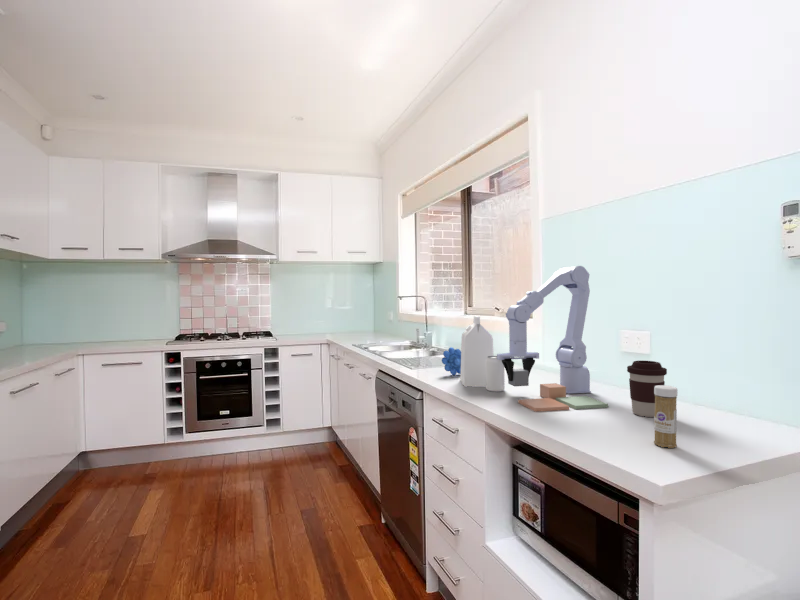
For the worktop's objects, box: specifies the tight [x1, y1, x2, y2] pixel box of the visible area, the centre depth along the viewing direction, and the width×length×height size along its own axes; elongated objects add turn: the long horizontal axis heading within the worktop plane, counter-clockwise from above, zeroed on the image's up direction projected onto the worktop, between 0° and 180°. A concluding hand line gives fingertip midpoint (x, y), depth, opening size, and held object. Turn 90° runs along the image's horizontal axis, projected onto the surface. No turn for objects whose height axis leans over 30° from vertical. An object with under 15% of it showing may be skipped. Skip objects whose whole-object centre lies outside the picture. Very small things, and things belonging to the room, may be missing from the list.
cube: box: [507, 368, 530, 387], centre depth 154 cm, size 5×5×5 cm
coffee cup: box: [626, 360, 668, 418], centre depth 130 cm, size 10×10×15 cm
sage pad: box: [556, 395, 609, 410], centre depth 142 cm, size 11×11×1 cm
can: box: [485, 355, 506, 393], centre depth 163 cm, size 6×6×12 cm
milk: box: [459, 315, 495, 388], centre depth 175 cm, size 12×12×26 cm
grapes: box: [441, 346, 461, 376], centre depth 193 cm, size 12×7×12 cm, turn 113°
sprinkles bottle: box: [653, 384, 678, 449], centre depth 103 cm, size 5×5×14 cm
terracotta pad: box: [517, 397, 570, 413], centre depth 140 cm, size 11×11×1 cm
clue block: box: [539, 382, 567, 400], centre depth 151 cm, size 6×6×4 cm
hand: (518, 380), depth 154 cm, fingers closed on cube, 5 cm apart
